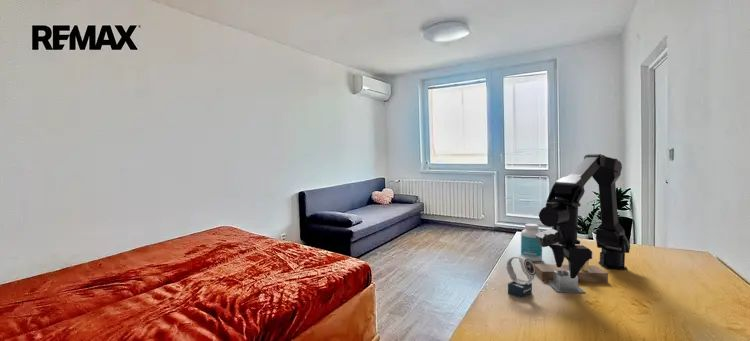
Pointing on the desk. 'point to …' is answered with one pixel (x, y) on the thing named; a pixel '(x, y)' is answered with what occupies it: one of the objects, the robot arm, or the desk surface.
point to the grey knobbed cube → (565, 280)
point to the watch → (518, 285)
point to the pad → (564, 290)
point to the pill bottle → (531, 243)
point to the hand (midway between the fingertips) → (565, 272)
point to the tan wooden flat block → (585, 266)
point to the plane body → (583, 276)
